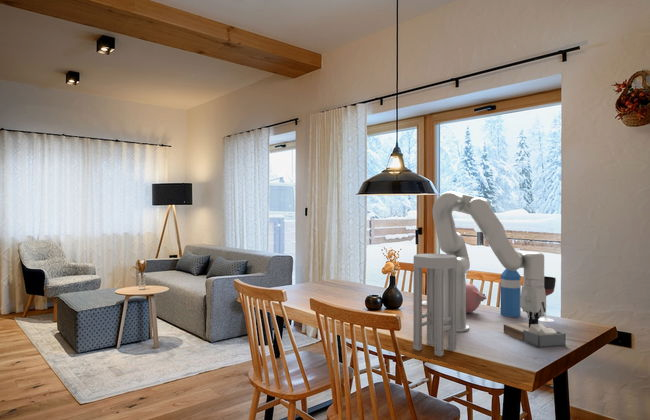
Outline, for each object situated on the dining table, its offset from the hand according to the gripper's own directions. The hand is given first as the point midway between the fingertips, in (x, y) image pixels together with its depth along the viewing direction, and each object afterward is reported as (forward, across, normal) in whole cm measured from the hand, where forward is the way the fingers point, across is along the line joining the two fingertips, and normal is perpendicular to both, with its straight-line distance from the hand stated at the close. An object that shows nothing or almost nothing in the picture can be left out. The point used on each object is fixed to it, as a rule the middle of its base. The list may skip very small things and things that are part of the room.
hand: (533, 328), depth 175 cm
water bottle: (+5, -37, +17) cm, 41 cm away
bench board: (+4, -5, 0) cm, 6 cm away
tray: (+4, +6, 0) cm, 7 cm away
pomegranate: (+5, -44, -2) cm, 45 cm away
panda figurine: (+5, -69, -10) cm, 70 cm away
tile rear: (+1, +3, 0) cm, 4 cm away
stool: (+5, +2, -45) cm, 45 cm away
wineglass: (+4, -25, +27) cm, 37 cm away
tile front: (0, +6, 0) cm, 6 cm away
